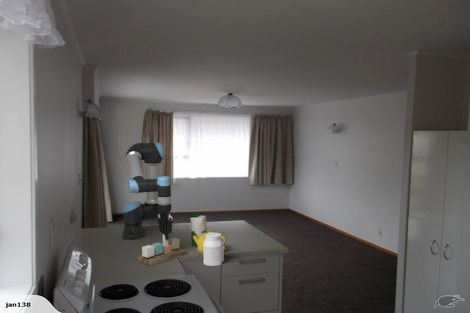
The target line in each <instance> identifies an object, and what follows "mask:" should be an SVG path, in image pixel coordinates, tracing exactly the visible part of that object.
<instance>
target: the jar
mask: <svg viewBox="0 0 470 313" xmlns="http://www.w3.org/2000/svg"><path fill="white" fill-rule="evenodd" d="M207 233H208V232H207ZM221 234H222V233H221V232H220V233H219V232H213V233H208V234H206V239H205V241H204V243H203V254H202V255H203V263H202V264H203V265H205V266H208V267H209V266H210V267H211V266H212V267H216V266H217V267H218V266H221V265H222V263H224V261H225V254H224V253H225V252H224V251H225V250H224V247H225V244H224V242H223V241H222V239H221Z"/></svg>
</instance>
